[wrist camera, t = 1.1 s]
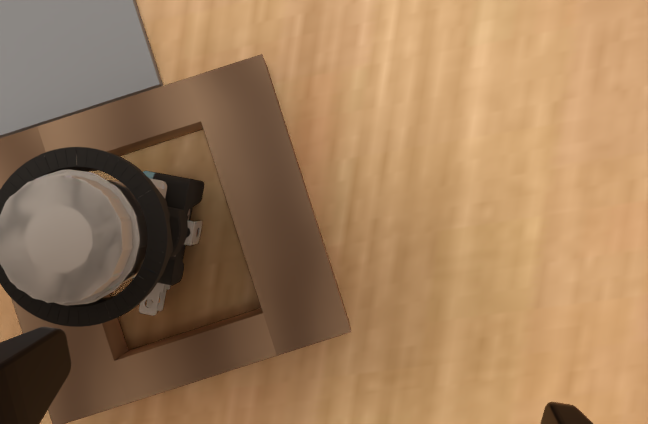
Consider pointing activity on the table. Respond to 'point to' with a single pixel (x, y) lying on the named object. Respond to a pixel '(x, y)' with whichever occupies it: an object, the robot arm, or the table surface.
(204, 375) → the board
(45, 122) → the felt pad
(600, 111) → the table surface
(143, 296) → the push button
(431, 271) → the table surface
